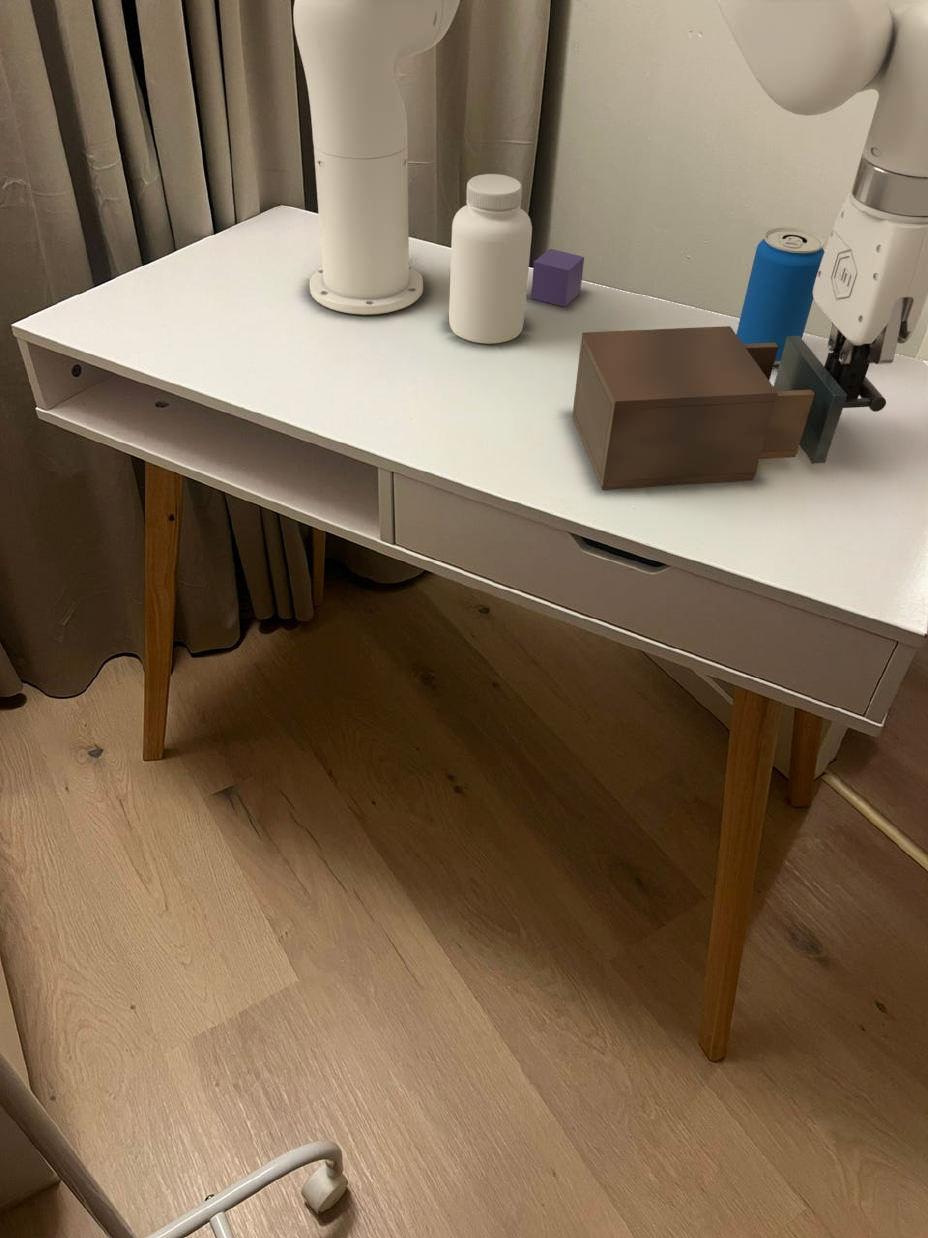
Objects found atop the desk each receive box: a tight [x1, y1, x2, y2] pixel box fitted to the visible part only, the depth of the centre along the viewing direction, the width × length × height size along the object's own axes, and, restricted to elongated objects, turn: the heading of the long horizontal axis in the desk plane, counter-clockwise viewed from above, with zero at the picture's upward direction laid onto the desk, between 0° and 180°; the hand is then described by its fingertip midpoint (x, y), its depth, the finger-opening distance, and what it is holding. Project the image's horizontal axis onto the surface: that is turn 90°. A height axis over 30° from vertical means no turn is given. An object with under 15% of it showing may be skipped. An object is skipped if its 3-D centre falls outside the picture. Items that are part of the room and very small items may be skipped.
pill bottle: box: [448, 173, 533, 344], centre depth 100 cm, size 8×8×15 cm
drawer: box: [743, 336, 887, 465], centre depth 88 cm, size 18×10×7 cm, turn 98°
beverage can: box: [735, 226, 825, 366], centre depth 99 cm, size 6×6×12 cm
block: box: [530, 248, 585, 308], centre depth 110 cm, size 4×4×4 cm
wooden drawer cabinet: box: [571, 325, 778, 490], centre depth 87 cm, size 14×12×9 cm
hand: (836, 396), depth 89 cm, fingers closed
